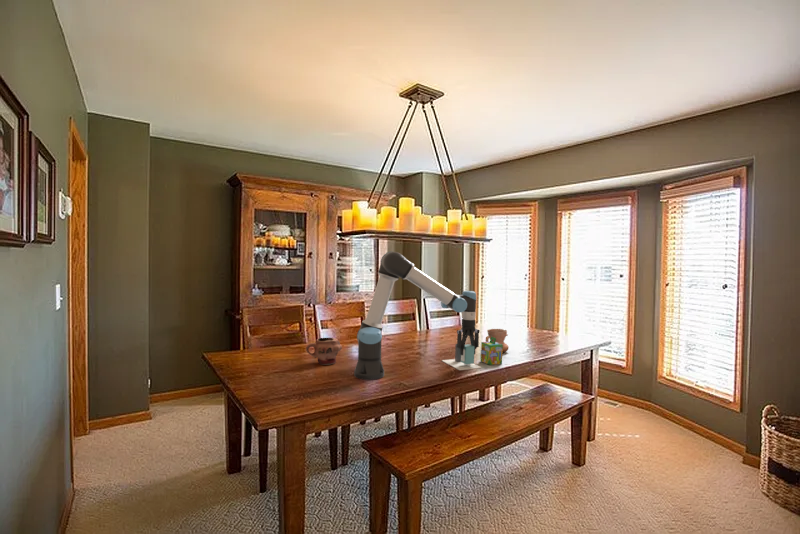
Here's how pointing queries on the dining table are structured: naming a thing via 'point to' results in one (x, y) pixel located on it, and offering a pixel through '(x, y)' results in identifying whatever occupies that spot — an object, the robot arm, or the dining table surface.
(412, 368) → the dining table surface
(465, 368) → the board
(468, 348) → the teal rectangular block
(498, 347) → the chalk box
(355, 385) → the dining table surface
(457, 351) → the black post
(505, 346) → the ceramic jug
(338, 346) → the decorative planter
